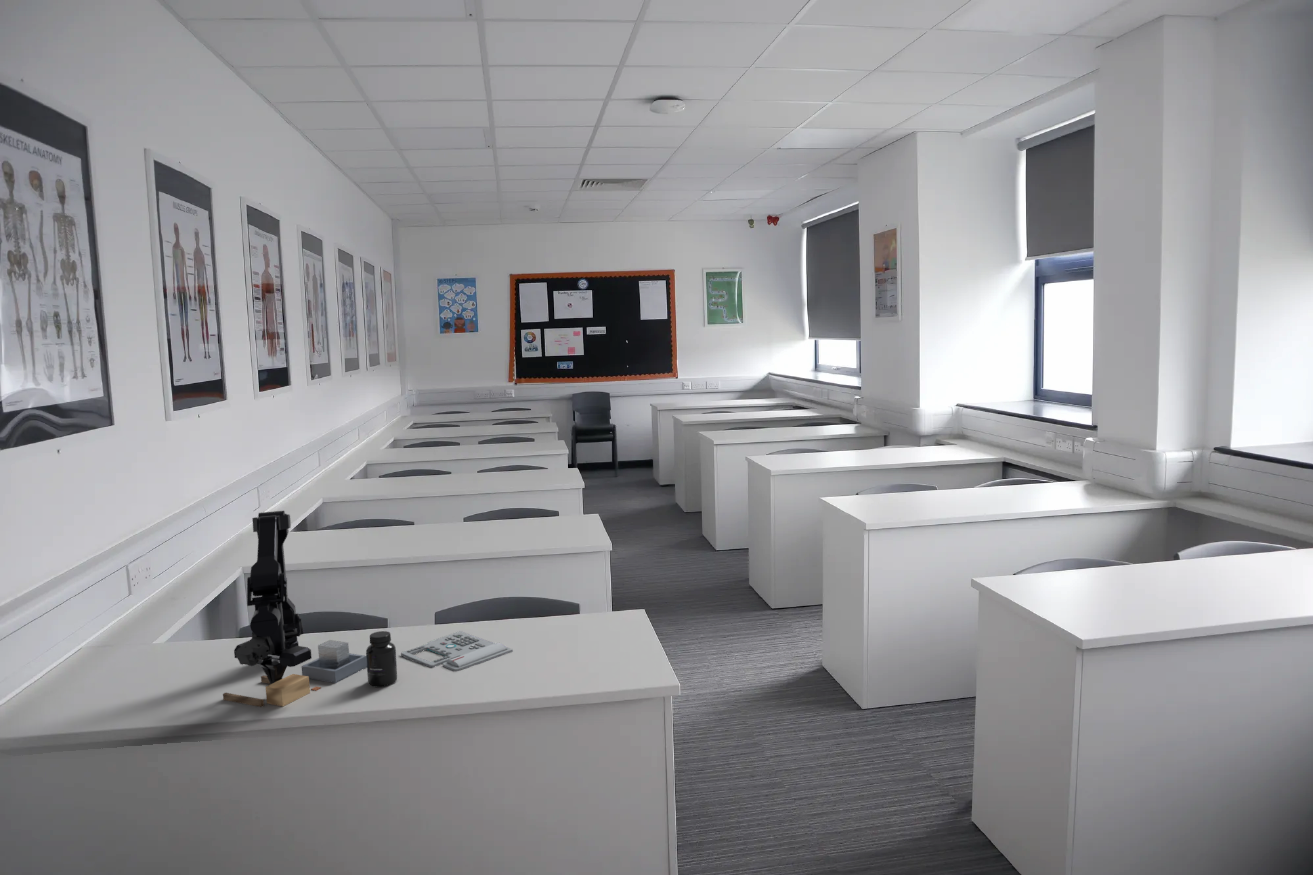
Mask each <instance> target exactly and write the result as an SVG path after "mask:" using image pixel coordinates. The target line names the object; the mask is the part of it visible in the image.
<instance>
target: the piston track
mask: <svg viewBox="0 0 1313 875" xmlns="http://www.w3.org/2000/svg"><path fill="white" fill-rule="evenodd" d="M260 682H261V684H262V683H263V684H264V683H265V684H268V685H270V682H269V680H268V678H267V676H266V675H264V674H263V675H262V676H260ZM321 689H322V687H321V686H314V687H313V688H310V691H314V690H315V691H316V692H317V691H320V690H321ZM222 697H223V698H222V699H223V701H227V702H233V703H239V704H242V705H243V704H244V705H249V706H253V707H254V706H255V707H260V708H262V707H264V706H265V703H264V700H265V699H263V698H258V697H252V696H247V695H246V696H245V695H241V694H236V693H229V692H224V693H222Z"/></svg>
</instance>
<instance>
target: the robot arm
mask: <svg viewBox="0 0 1313 875" xmlns="http://www.w3.org/2000/svg"><path fill="white" fill-rule="evenodd" d="M251 520H252V530H253V533H256V535H257V556H256V557H257V558H256V559H257V560H256V562H255V563H254V564H252V566H251V568H250V574H249V576H248V577H247V580H246V581H247V582H246V585H247V586H246V591H247V594H246V604H247V605H246V606H247V607H250V606H254V612H253V615H252V617H251V620H250V624H249V627H250V630H251V638H250V639H249V640H248V641H247V640H246V641H244V642H242V643H240V644H237V645H236V646H235V648H234V649H233V654H234V658H235V659H237V661H238V662H239V664H240V665H242V666H243V665H248V666H249V667H253V666H255V665H257V666H259V667H260V668H261V669H262V670H263V672H264V673H265V676H267V678H268V680H269V682H270V684H272V683H275V682H277V681H279V680H281V679H283V677H284V675H285V671H286V670H287V668H293V667H296V666H298V665H301V664H303V663H305V662H306V661H310V660H311V659H312V649H310V647H307V646H303V645H299V641H298V637H301V635H303V634H304V626H303V621H302V618H301V617H300V615H299V614H300V613H297V612H296V610H297V609H296V605H295V604H294V603H293V601H292V600H291V599H290V598H289V595H288V594H289V593H288V577H287V572H286V561H285V549H284V543H285V541H286V539H287V537H288V535H289V529H291V526H292V524H291V523H292V522H291V514H287V513H286V511H285V510H277V511H275V510H274V511H266V512H258V516H257V517H256V516H255V517H252V519H251ZM252 596H253V597H252ZM270 684H269V685H270Z"/></svg>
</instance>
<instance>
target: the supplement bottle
mask: <svg viewBox="0 0 1313 875" xmlns="http://www.w3.org/2000/svg"><path fill="white" fill-rule="evenodd" d="M391 634H392V633H391V632H390V631H387V630H383V631H382V630H381V631H375V632H372V633H371V634H370V635H369V645H368V646H367V648H366V649H365V650H366V651H365V656H366V659H367V668H366V673H367V674H366V675H367V684H368V685H369V686H371V687H373V688H374V687H375V688H382V687H388V686H391V685H393V684H395V683H396V682H397V680H398V668H397V666H398V664H397V650H396V645H395V644H394V643H393V642H391V641H392V637H391Z"/></svg>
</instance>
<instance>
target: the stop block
mask: <svg viewBox="0 0 1313 875" xmlns="http://www.w3.org/2000/svg"><path fill="white" fill-rule="evenodd" d="M317 651H318V658H319V664H320V668H326V669H333V670H336V669H338V668H340V667H342V666H344V665H346V664H348V663H350V659H349V653H350V648H349V642H346V641H339V640H333V639H329V640H327V641H325V642H322V643H320V644H318V645H317Z"/></svg>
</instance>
